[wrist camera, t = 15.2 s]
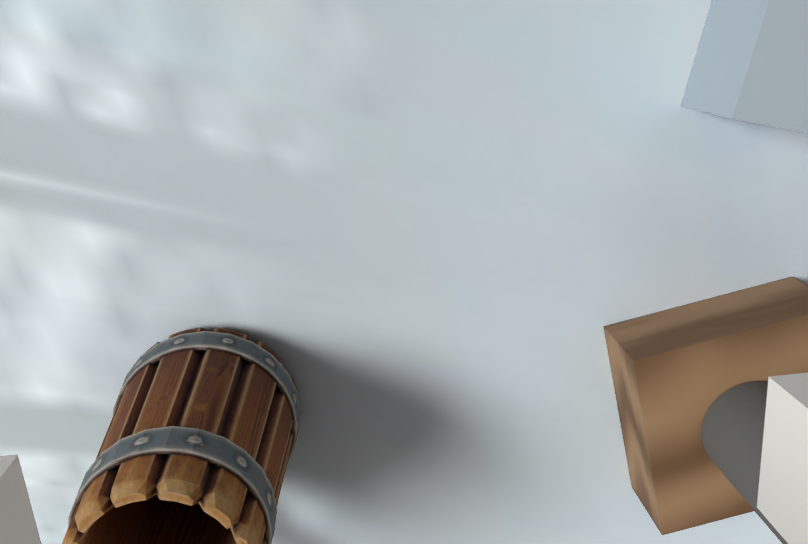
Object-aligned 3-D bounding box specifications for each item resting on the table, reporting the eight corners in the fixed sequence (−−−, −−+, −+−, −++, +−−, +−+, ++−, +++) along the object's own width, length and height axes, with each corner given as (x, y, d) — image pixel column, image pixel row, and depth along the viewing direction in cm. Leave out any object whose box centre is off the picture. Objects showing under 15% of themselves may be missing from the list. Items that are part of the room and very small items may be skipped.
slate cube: (712, -5, 41) (772, -9, 36) (812, 17, 42) (886, 17, 36) (679, 106, 43) (731, 118, 37) (776, 125, 44) (841, 140, 38)
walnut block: (603, 326, 47) (633, 360, 42) (791, 276, 47) (843, 305, 42) (631, 487, 51) (662, 535, 46) (806, 441, 51) (854, 484, 46)
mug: (142, 303, 44) (49, 437, 30) (320, 345, 46) (312, 491, 31) (96, 526, 48) (-5, 736, 34) (260, 556, 50) (229, 768, 36)
